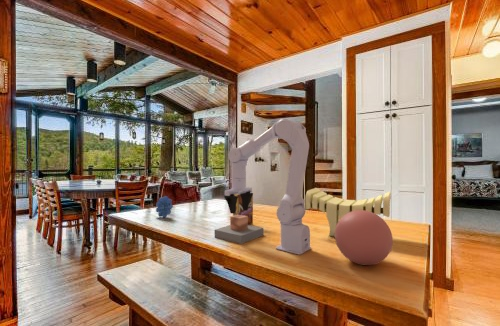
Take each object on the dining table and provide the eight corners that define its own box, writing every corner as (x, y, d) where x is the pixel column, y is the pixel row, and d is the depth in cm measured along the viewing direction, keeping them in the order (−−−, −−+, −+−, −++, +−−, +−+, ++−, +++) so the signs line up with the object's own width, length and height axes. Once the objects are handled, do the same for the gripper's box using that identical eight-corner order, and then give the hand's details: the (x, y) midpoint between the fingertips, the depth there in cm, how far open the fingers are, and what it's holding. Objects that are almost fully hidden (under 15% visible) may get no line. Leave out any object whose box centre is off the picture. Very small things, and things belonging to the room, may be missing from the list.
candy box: (237, 227, 115) (237, 194, 115) (232, 226, 119) (232, 193, 119) (253, 225, 120) (253, 192, 120) (248, 223, 124) (248, 192, 124)
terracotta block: (247, 228, 103) (247, 216, 103) (239, 231, 99) (239, 218, 99) (238, 226, 106) (238, 214, 106) (230, 229, 102) (230, 216, 102)
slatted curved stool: (305, 234, 103) (305, 191, 103) (316, 226, 117) (316, 187, 117) (389, 246, 88) (389, 195, 88) (390, 235, 102) (390, 190, 102)
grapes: (178, 217, 140) (177, 195, 140) (169, 219, 134) (168, 196, 133) (162, 215, 145) (162, 194, 145) (153, 217, 139) (152, 195, 139)
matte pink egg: (386, 252, 83) (385, 205, 83) (397, 278, 64) (397, 217, 64) (336, 246, 88) (336, 202, 88) (333, 269, 70) (333, 214, 70)
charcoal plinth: (263, 235, 103) (263, 227, 103) (240, 244, 92) (240, 235, 92) (238, 229, 112) (237, 222, 112) (214, 237, 101) (214, 229, 101)
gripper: (243, 176, 110) (243, 208, 110) (218, 178, 99) (219, 213, 99) (255, 177, 106) (256, 209, 106) (232, 179, 95) (232, 215, 95)
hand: (239, 211), depth 102 cm, fingers open, 7 cm apart
